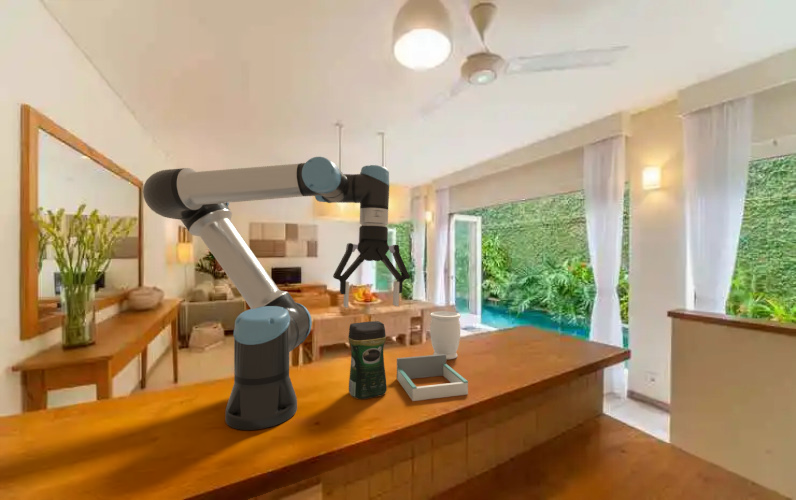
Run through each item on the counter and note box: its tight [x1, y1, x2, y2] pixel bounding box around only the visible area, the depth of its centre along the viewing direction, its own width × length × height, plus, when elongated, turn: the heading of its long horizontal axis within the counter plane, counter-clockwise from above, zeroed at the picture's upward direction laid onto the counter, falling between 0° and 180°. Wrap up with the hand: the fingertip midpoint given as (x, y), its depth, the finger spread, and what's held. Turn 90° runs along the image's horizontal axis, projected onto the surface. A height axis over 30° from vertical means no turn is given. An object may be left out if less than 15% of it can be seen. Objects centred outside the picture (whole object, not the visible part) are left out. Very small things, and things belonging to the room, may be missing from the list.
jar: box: [429, 311, 461, 360], centre depth 120 cm, size 11×10×15 cm
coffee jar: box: [348, 320, 388, 400], centre depth 88 cm, size 10×8×19 cm
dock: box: [396, 354, 469, 402], centre depth 93 cm, size 15×15×6 cm
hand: (371, 306), depth 90 cm, fingers open, 13 cm apart
